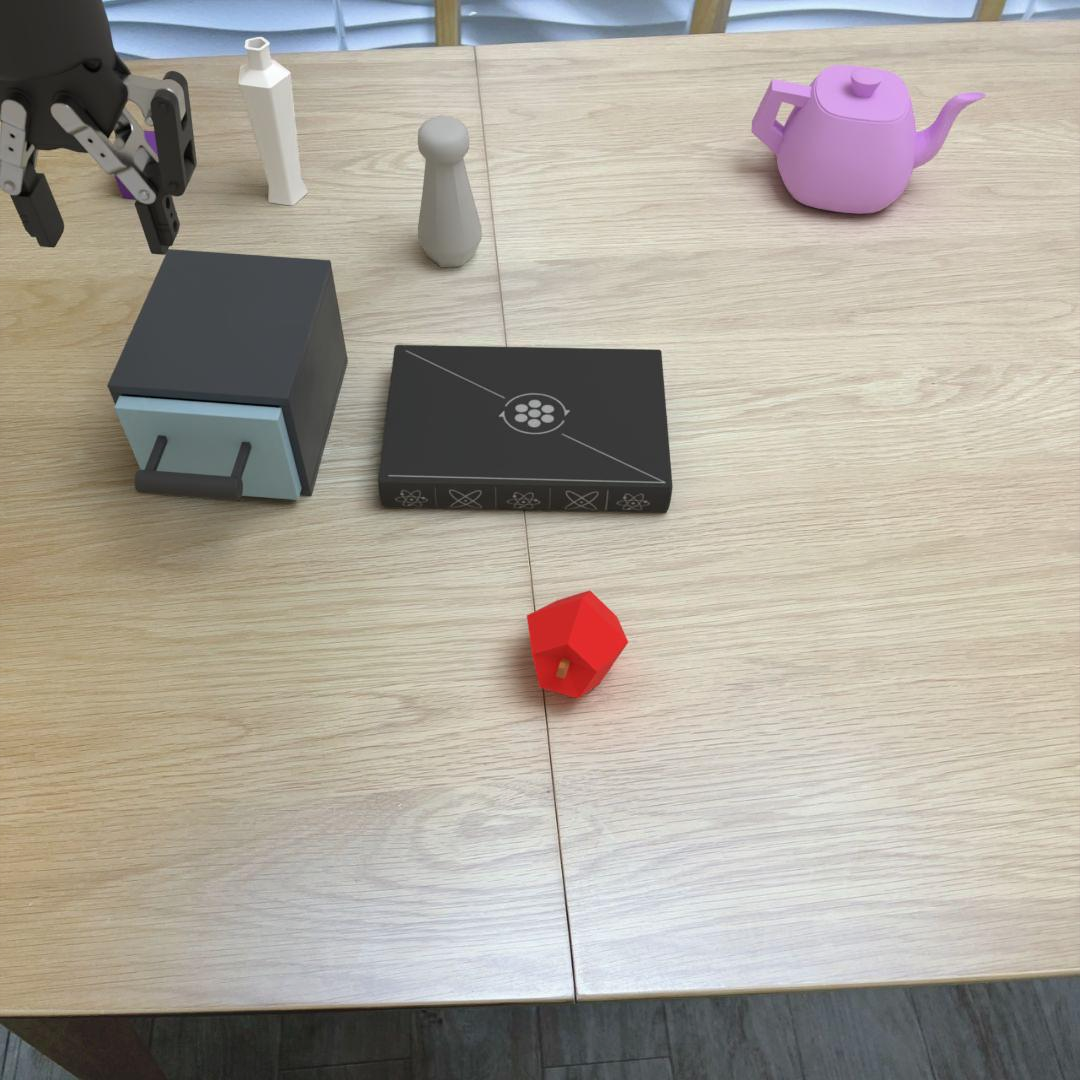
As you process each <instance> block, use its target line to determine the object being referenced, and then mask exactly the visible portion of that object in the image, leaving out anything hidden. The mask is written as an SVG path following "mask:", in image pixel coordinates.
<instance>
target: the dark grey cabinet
mask: <svg viewBox="0 0 1080 1080" xmlns="http://www.w3.org/2000/svg"><path fill="white" fill-rule="evenodd" d="M336 289H337V288H336V284H335V278H334V272H333V266H332V262H331V260H330V259H319V258H318V259H317V258H305V257H304V258H303V257H291V256H290V257H289V256H274V255H261V254H247V253H243V254H242V253H232V252H231V253H230V252H215V251H202V250H189V249H173V248H169V249H168V251H167V253H166V254H165V255H164V257H163V259H162V262H161V264H160V266H159V268H158V271H157V273H156V275H155V278H154V280H153V282H152V284H151V286H150V289H149V291H148V293H147V295H146V298H145V300H144V302H143V304H142V307H141V309H140V311H139V313H138V315H137V318H136V320H135V322H134V324H133V326H132V329H131V331H130V334H129V335H128V338H127V339H126V342H125V344H124V347H123V349H122V351H121V353H120V356H119V358H118V360H117V362H116V364H115V366H114V369H113V372H112V373H111V375H110V377H109V380H108V383H107V385H106V387H107V388H108V390H109V393H110V396H111V397H112V401H113V403H114V406H115V405H116V402H117V400H118V398H119V396H129V397H141V396H140V395H144V396H157V397H171V398H184V399H197V400H211V401H224V402H238V403H251V404H265V405H278V406H279V408H281V409H282V413H283V417H284V421H285V425H286V429H287V433H288V437H289V441H290V444H291V448H292V452H293V456H294V460H295V464H296V468H297V472H298V476H299V480H300V484H301V488H302V489H301V492H300V496H308V497H312V496H313V493H314V492H313V491H314V489H315V486H316V480H317V478H318V474H319V470H320V466H321V462H322V459H323V455H324V451H325V448H326V444H327V441H328V437H329V432H330V428H331V425H332V422H333V418H334V414H335V412H336V411H335V410H336V407H337V404H338V399H339V395H340V392H341V388H342V385H343V382H344V378H345V374H346V371H347V366H348V362H349V359H348V353H347V348H346V342H345V336H344V330H343V324H342V319H341V313H340V307H339V302H338V296H337V290H336Z"/></svg>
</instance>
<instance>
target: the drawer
mask: <svg viewBox="0 0 1080 1080" xmlns="http://www.w3.org/2000/svg"><path fill="white" fill-rule="evenodd" d="M140 396H141V397H129V396H119V398H118V400H117V402H116V405H115V404H114V411H115V413H116V416H117V418H118V420H119V422H120V424H121V427H122V429H123V432H124V434H125V437H126V439H127V441H128V442H129V443H128V444H129V445H130V448H131V450H132V453H133V455H134V457H135V460H136V462H137V464H138V467H139V469H138V470H137V471H136V473H135V476H134V482H133V483H134V489H135V491H136V493H137V494H148V495H161V496H174V497H187V498H196V499H197V498H199V499H210V500H212V499H213V500H223V501H224V500H225V501H236V502H238V501H240V500H241V499H242V497H254V498H266V499H267V498H268V499H280V500H292V501H298V500H299V499H300V496H301V495H300V492H301V489H302V488H301V484H300V480H299V476H298V472H297V468H296V464H295V460H294V456H293V452H292V448H291V444H290V441H289V437H288V433H287V429H286V425H285V421H284V417H283V413H282V409H281V408H279V406H278V405H265V404H251V403H238V402H224V401H211V400H197V399H184V398H171V397H157V396H144V395H140Z"/></svg>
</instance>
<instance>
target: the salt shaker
mask: <svg viewBox="0 0 1080 1080" xmlns="http://www.w3.org/2000/svg"><path fill="white" fill-rule="evenodd" d="M417 147H418V152H419V153H420V154H421V156H422V157H423V158H424V159H425V164H424V172H423V183H422V192H421V201H420V207H419V208H420V209H419V215H418V223H417V239H418V242H419V245H420V246H421V248H422V249H423V251H424V252H425V254H426V256H427V257H428V258H429V259H430V260H431V261H433V262H434V263H435V264H436V265H438V266H439V267H440V268H453V267H463V266H464V265H465V264H466V263H467V262H468V261H469V260H471V258H473V257H474V255H475V253H476V251H477V250H478V248H479V245H480V243H481V242H482V237H483V230H482V223H481V220H480V216H479V213H478V209H477V204H476V202H475V198H474V195H473V190H472V187H471V183H470V180H469V176H468V172H467V167H466V163H465V160H464V158H465V157H466V155H467V153H468V152H469V150H470V134H469V130H468V126H466V124H465V123H464V122H463V121H461V120H460V119H458V118H455V117H453V116H449V115H448V116H447V115H438V116H433V117H430V118H428V119H426V120H425V121H424V122H423V123H422V124H421V125H420V127H419V128H418V131H417Z"/></svg>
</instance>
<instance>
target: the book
mask: <svg viewBox="0 0 1080 1080" xmlns="http://www.w3.org/2000/svg"><path fill="white" fill-rule="evenodd" d="M663 365H664V364H663V354H662V350H661V349H656V348H655V349H654V348H653V349H651V348H649V349H645V348H597V347H595V348H593V347H592V348H591V347H545V346H544V347H541V346H539V347H538V346H536V347H535V346H487V345H486V346H485V345H484V346H480V345H431V344H430V345H429V344H428V345H427V344H395V346H394V349H393V357H392V364H391V371H390V372H391V373H390V379H389V380H390V381H389V387H388V388H389V389H388V395H387V396H388V397H387V404H386V410H385V411H386V413H385V419H384V420H385V421H384V429H383V434H382V435H383V436H382V443H381V445H382V446H381V451H380V460H379V468H378V476H377V483H378V485H377V487H378V495H379V499H380V504H381V507H382V508H383V509H431V510H432V509H435V510H437V509H441V510H442V509H443V510H492V511H493V510H496V511H497V510H498V511H501V510H502V511H550V512H551V511H553V512H554V511H555V512H556V511H557V512H563V511H564V512H614V513H615V512H616V513H617V512H618V513H620V512H621V513H626V512H627V513H667V512H668V511H669V510H670V505H671V501H672V494H673V487H674V486H673V476H672V475H673V474H672V464H671V450H670V438H669V427H668V415H667V414H668V413H667V402H666V389H665V377H664V366H663Z"/></svg>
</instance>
